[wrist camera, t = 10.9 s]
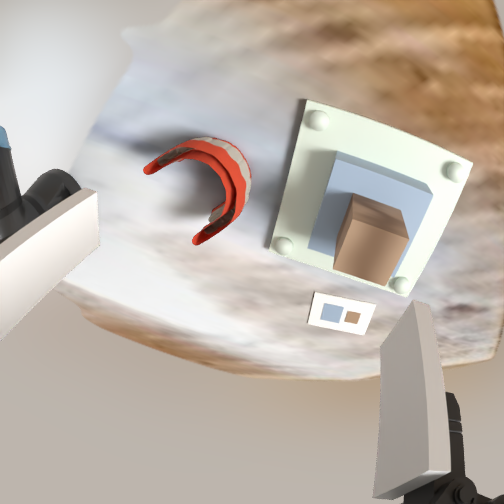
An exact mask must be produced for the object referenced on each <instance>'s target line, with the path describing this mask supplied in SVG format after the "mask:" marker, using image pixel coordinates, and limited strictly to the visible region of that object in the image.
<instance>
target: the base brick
mask: <svg viewBox="0 0 504 504" xmlns="http://www.w3.org/2000/svg"><path fill="white" fill-rule="evenodd" d="M353 193H355V194H358V195H361V196H364V197H367V198H369V199H372V200H375V201H378V202H381V203H383V204H386V205H389V206H391V207H394V208H397V209H399V210H401V212H402V216H403V219H404V222H405V226H406V229H407V233H408V236H409V241H408V243H407V245H406V247H405V249H404V251H403V253H402V255H401V257H400V259H399V261H398V263H397V265H396V267H395V269H394V271H393V273H392V275H391V277H395V275H396V273H397V271H398V269H399V267H400V265H401V263H402V261H403V259H404V257H405V256H406V254H407V252H408V250H409V248H410V246H411V244H412V241H413V239H414V237H415V235H416V233H417V231H418V229H419V227H420V225H421V223H422V220H423V218H424V216H425V214H426V212H427V209H428V207H429V205H430V202H431V200H432V198H433V196H434V195H433V193H432V192H431V190H430V188H429V187H428V185H427V184H426V183H424V182H421V181H419V180H416V179H414V178H412V177H409V176H407V175H404V174H401V173H399V172H396V171H394V170H391V169H388V168H386V167H383V166H380V165H378V164H375V163H372V162H369V161H366V160H364V159H361V158H358V157H355V156H352V155H349V154H346V153H343V152H340V151H337V153H336V157H335V160H334V163H333V167H332V170H331V173H330V176H329V180H328V183H327V186H326V189H325V193H324V196H323V199H322V202H321V205H320V208H319V211H318V214H317V218H316V221H315V224H314V227H313V230H312V233H311V236H310V240H309V244H308V247H307V248H308V249H311V250H314V251H317V252H320V253H323V254H326V255H329V256H332V257H334V255H335V248H336V240H337V235H338V232H339V230H340V227H341V224H342V222H343V219H344V216H345V214H346V211H347V208H348V205H349V202H350V200H351V197H352V194H353Z"/></svg>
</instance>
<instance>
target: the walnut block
mask: <svg viewBox="0 0 504 504" xmlns="http://www.w3.org/2000/svg"><path fill="white" fill-rule="evenodd" d="M408 241H409V236H408V233H407V229H406V226H405V222H404V219H403V216H402V212H401V210H399V209H397V208H394V207H391V206H389V205H386V204H383V203H381V202H378V201H375V200H372V199H369V198H367V197H364V196H361V195H358V194H355V193H353V194H352V197H351V200H350V202H349V205H348V208H347V211H346V214H345V216H344V219H343V222H342V224H341V227H340V230H339V232H338V235H337V240H336V248H335V255H334V263H333V269H334V270H337V271H340V272H343V273H346V274H349V275H352V276H355V277H358V278H361V279H364V280H367V281H370V282H373V283H376V284H379V285H382V286H386V284H387V282H388V280H389V278H390V277H391V275H392V273H393V271H394V269H395V267H396V265H397V263H398V261H399V259H400V257H401V255H402V253H403V251H404V249H405V247H406V245H407V243H408Z"/></svg>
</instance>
